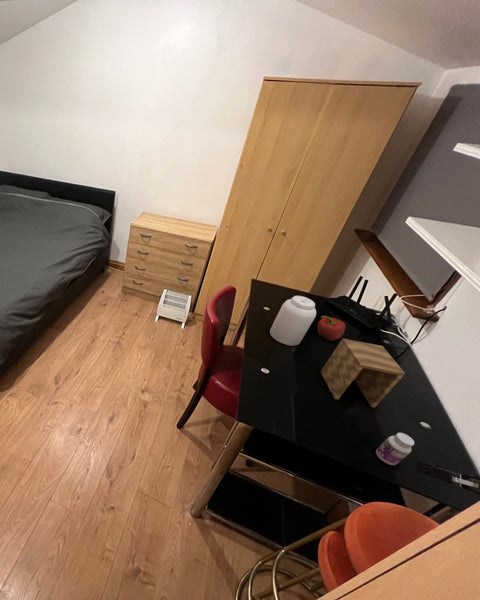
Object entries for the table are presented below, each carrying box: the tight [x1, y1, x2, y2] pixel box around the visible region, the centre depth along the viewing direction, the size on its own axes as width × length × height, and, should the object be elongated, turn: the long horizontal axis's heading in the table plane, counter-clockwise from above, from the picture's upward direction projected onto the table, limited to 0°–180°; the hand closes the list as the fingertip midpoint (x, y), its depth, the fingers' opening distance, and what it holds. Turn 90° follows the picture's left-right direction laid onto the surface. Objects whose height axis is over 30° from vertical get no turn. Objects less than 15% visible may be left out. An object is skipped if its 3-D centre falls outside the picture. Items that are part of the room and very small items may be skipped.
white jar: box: [269, 295, 317, 347], centre depth 139 cm, size 12×12×20 cm
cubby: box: [320, 338, 406, 409], centre depth 116 cm, size 14×13×17 cm
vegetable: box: [317, 315, 346, 342], centre depth 145 cm, size 11×10×10 cm
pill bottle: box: [375, 432, 415, 466], centre depth 95 cm, size 5×5×10 cm
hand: (419, 466), depth 86 cm, fingers closed
